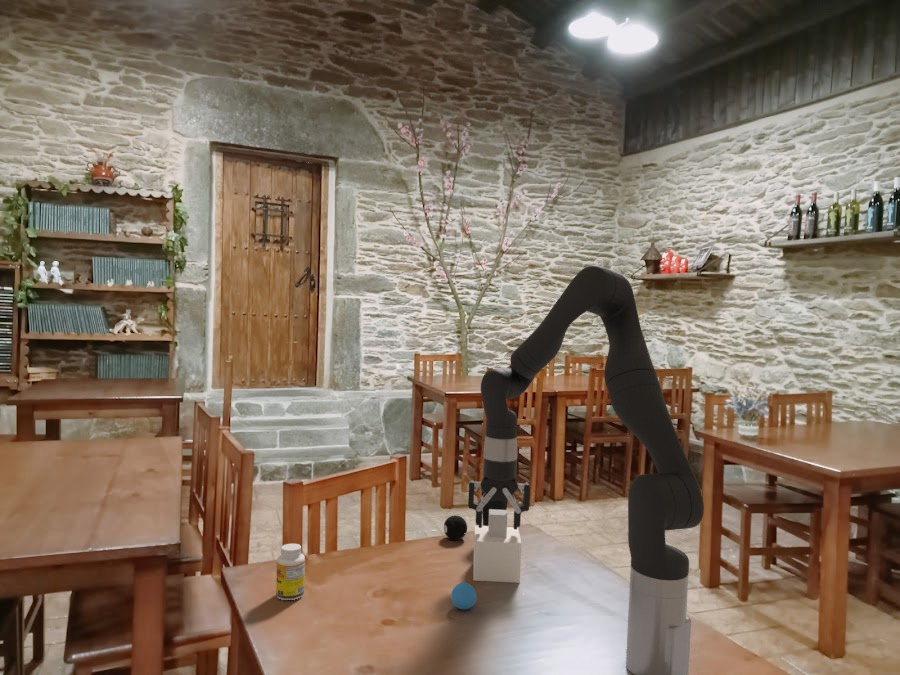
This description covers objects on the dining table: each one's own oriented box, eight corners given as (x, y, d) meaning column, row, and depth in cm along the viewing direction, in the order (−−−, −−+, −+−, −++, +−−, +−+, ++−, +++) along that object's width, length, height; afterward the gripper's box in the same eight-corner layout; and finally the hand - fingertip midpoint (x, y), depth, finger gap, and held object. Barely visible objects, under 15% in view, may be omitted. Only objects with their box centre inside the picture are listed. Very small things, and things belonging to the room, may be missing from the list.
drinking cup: (506, 547, 160) (509, 469, 159) (476, 544, 161) (479, 466, 160) (509, 537, 167) (512, 462, 166) (480, 534, 169) (483, 459, 168)
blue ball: (481, 609, 126) (482, 584, 126) (463, 616, 123) (463, 591, 123) (463, 600, 130) (464, 576, 130) (445, 607, 127) (446, 582, 126)
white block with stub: (516, 564, 149) (519, 506, 149) (519, 582, 139) (522, 520, 139) (473, 562, 150) (475, 504, 149) (473, 580, 140) (475, 518, 139)
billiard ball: (439, 536, 166) (440, 513, 166) (460, 533, 169) (461, 511, 168) (449, 544, 161) (450, 521, 160) (470, 541, 163) (471, 518, 163)
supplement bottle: (275, 591, 131) (276, 542, 131) (303, 588, 133) (304, 540, 132) (276, 603, 126) (277, 553, 125) (305, 600, 127) (306, 550, 127)
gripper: (530, 453, 147) (527, 523, 148) (468, 451, 147) (466, 520, 148) (533, 461, 139) (530, 535, 140) (468, 458, 140) (465, 531, 141)
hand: (497, 527), depth 144 cm, fingers open, 7 cm apart
